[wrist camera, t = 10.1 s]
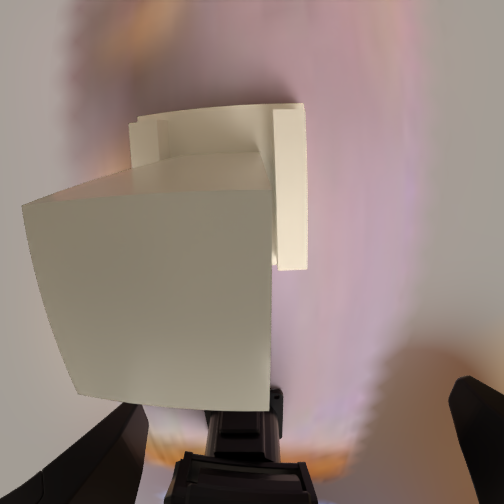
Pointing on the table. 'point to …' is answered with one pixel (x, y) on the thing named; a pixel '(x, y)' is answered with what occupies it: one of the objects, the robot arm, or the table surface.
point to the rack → (242, 140)
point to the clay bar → (162, 281)
